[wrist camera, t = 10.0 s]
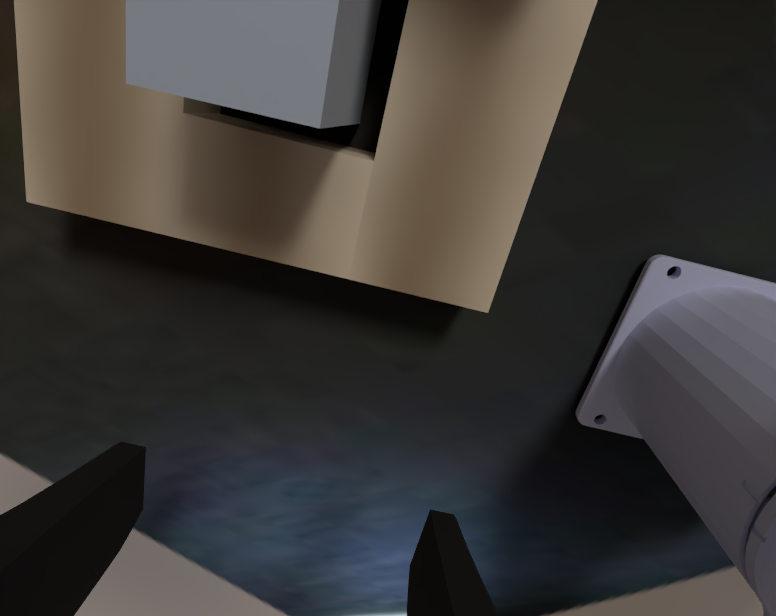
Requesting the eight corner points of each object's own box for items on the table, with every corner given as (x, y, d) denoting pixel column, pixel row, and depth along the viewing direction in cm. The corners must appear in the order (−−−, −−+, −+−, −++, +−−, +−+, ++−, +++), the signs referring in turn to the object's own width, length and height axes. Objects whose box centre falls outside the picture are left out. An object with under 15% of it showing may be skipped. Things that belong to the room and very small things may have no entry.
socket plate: (620, -150, 14) (673, -217, 11) (476, 284, 19) (487, 312, 16) (77, -309, 13) (-13, -423, 10) (84, 188, 18) (26, 201, 16)
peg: (382, -3, 15) (356, -113, 8) (359, 123, 17) (319, 128, 10) (263, -32, 15) (125, -172, 8) (251, 98, 17) (125, 83, 9)
